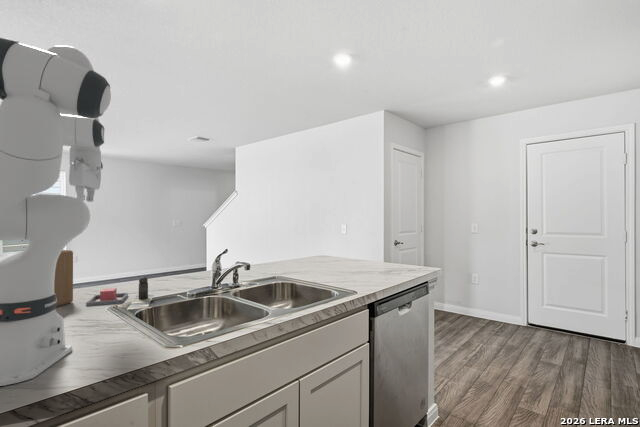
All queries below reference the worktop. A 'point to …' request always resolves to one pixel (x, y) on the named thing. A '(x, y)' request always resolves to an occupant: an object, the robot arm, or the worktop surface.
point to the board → (140, 302)
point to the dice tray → (91, 303)
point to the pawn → (143, 288)
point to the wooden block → (64, 278)
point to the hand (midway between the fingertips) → (85, 201)
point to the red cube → (108, 294)
